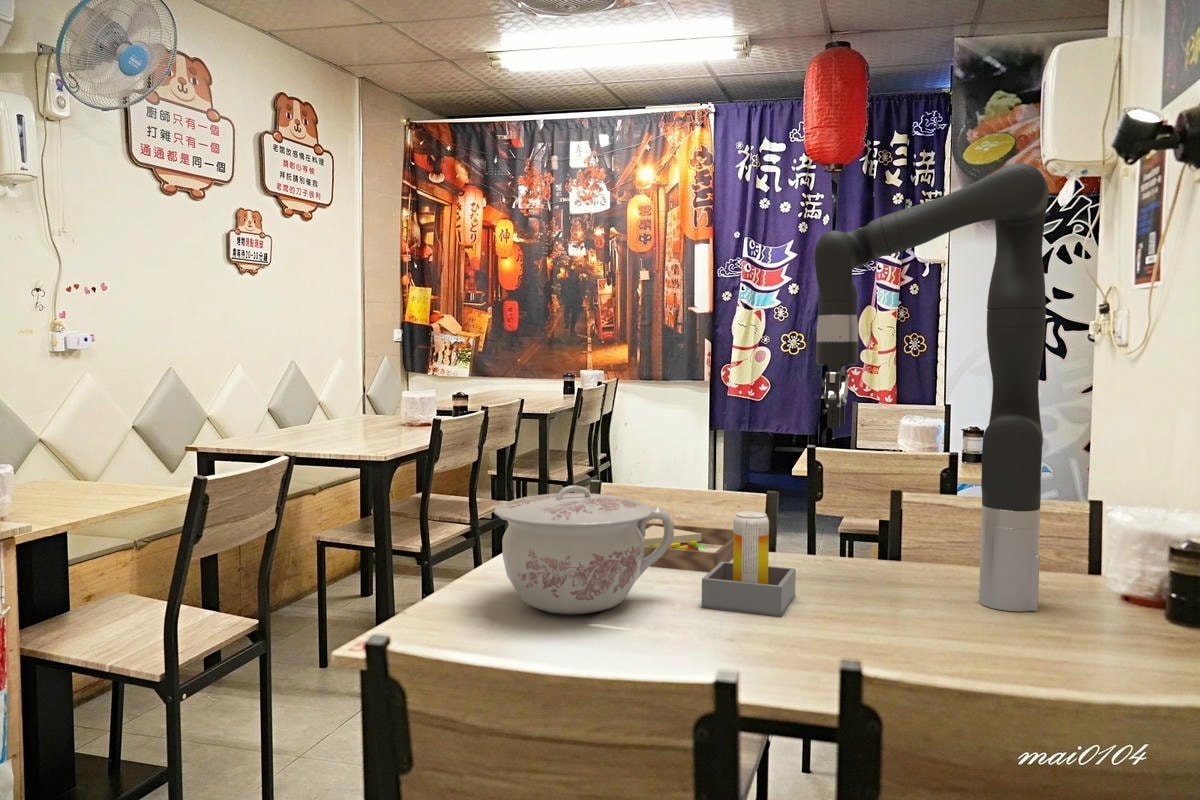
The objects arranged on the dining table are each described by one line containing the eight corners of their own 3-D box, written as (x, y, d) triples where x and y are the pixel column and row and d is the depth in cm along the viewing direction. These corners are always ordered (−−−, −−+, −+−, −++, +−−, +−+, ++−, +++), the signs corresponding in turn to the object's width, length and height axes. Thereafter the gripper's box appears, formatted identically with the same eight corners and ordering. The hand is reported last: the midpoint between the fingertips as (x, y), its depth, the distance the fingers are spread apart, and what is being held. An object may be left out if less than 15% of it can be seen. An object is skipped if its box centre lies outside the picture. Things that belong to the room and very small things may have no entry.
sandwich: (593, 555, 198) (593, 532, 198) (664, 544, 209) (665, 522, 209) (637, 570, 186) (637, 545, 185) (710, 557, 197) (710, 534, 197)
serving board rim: (744, 548, 204) (745, 530, 203) (717, 573, 181) (718, 553, 181) (641, 539, 212) (641, 522, 212) (603, 562, 190) (603, 543, 190)
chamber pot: (461, 613, 154) (460, 489, 153) (546, 576, 179) (546, 470, 177) (610, 639, 141) (611, 504, 140) (680, 595, 166) (681, 481, 164)
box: (795, 596, 166) (795, 568, 165) (781, 616, 153) (781, 587, 153) (720, 588, 171) (721, 561, 170) (701, 607, 158) (701, 578, 158)
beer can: (766, 594, 165) (767, 511, 164) (769, 604, 159) (770, 517, 158) (732, 593, 165) (733, 510, 164) (733, 603, 159) (734, 516, 158)
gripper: (854, 339, 165) (853, 430, 166) (861, 339, 178) (860, 423, 179) (811, 339, 167) (810, 428, 168) (821, 340, 181) (820, 422, 182)
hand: (836, 426), depth 174 cm, fingers open, 8 cm apart
